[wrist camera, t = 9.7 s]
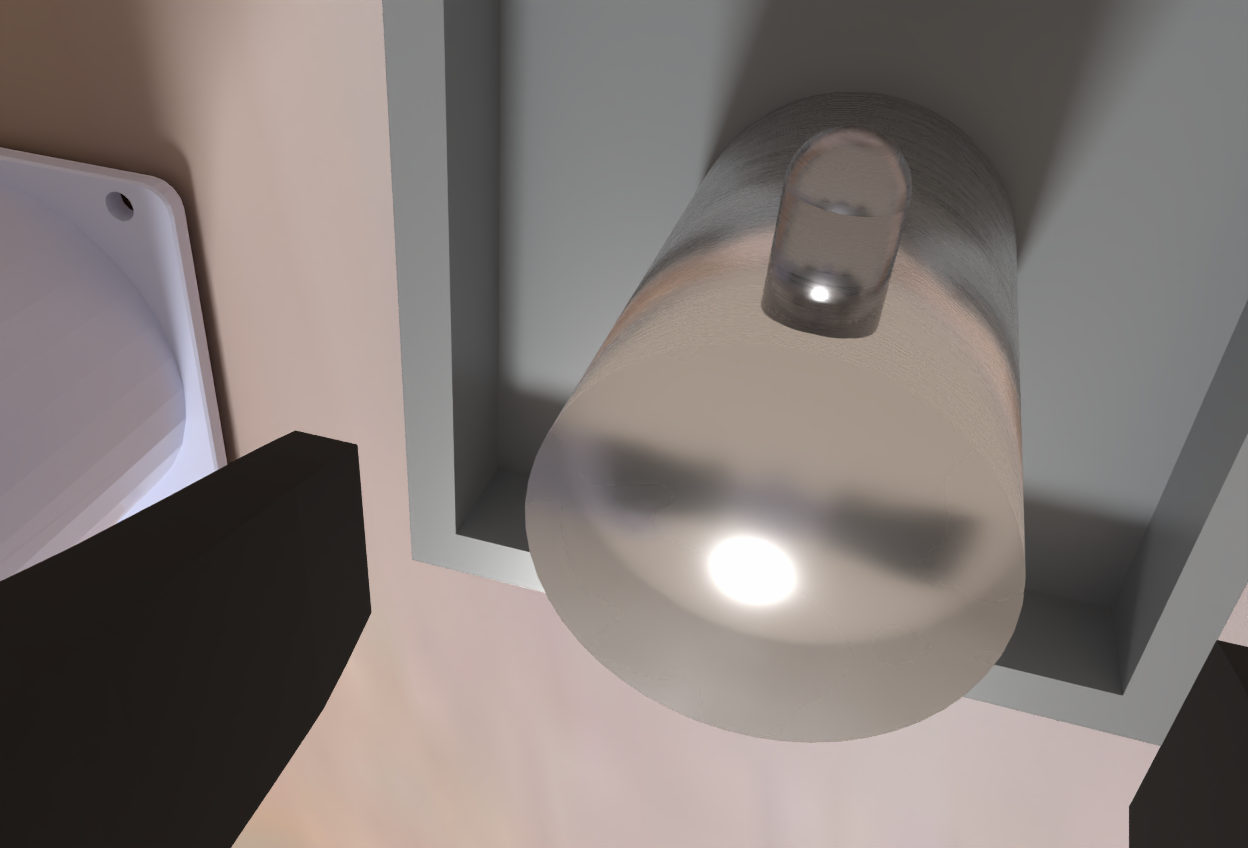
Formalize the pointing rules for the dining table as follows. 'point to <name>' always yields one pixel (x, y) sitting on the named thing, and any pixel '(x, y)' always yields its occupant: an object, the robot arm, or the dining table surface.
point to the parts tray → (1046, 273)
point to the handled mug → (803, 436)
